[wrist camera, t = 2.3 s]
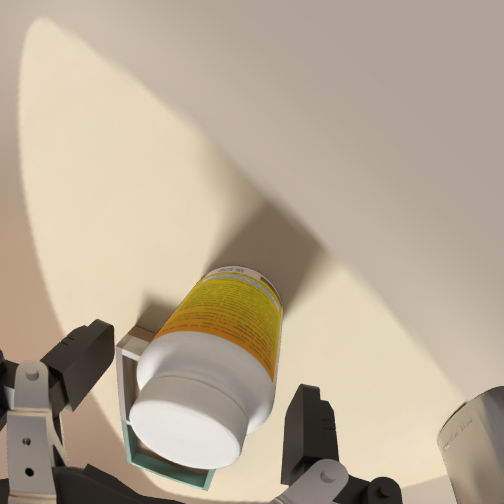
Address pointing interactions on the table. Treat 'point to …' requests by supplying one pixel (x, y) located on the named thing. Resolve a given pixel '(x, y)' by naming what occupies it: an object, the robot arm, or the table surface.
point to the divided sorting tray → (128, 394)
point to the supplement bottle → (211, 370)
